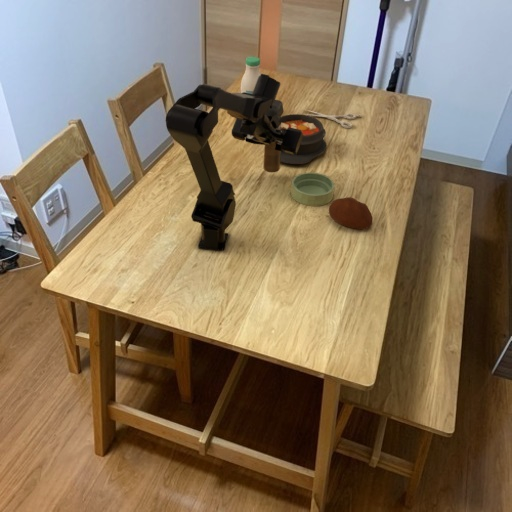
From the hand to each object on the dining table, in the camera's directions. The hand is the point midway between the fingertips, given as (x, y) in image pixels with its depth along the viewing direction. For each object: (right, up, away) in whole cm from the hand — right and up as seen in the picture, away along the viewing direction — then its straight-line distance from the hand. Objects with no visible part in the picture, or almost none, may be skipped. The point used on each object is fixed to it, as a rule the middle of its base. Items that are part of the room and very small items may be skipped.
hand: (275, 145), depth 146 cm
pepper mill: (-1, -6, +3) cm, 7 cm away
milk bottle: (-7, +17, +36) cm, 41 cm away
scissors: (+20, +17, +37) cm, 46 cm away
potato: (+19, -23, -10) cm, 31 cm away
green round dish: (+10, -14, 0) cm, 17 cm away
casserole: (+7, +3, +20) cm, 21 cm away
